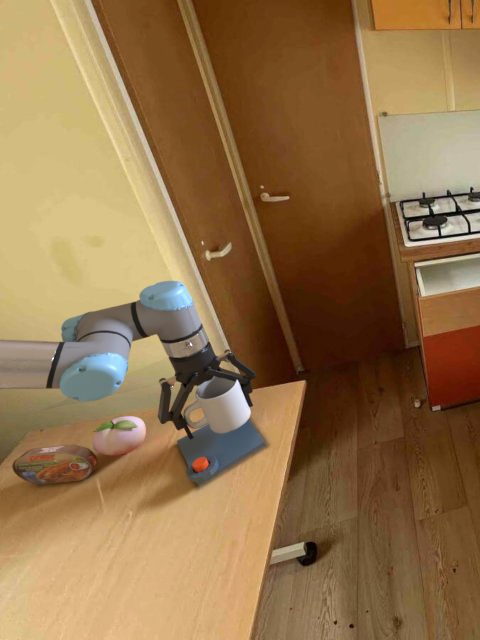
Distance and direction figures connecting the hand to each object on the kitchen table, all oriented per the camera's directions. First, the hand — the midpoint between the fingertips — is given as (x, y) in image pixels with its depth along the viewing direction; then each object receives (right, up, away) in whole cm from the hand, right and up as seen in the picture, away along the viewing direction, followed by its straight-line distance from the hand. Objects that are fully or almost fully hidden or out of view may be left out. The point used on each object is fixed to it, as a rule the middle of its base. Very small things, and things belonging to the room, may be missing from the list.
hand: (221, 419), depth 101 cm
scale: (0, -7, +1) cm, 7 cm away
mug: (0, -2, +1) cm, 2 cm away
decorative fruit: (-21, -7, 0) cm, 23 cm away
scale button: (+1, -8, -7) cm, 11 cm away
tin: (-30, -10, -6) cm, 33 cm away
